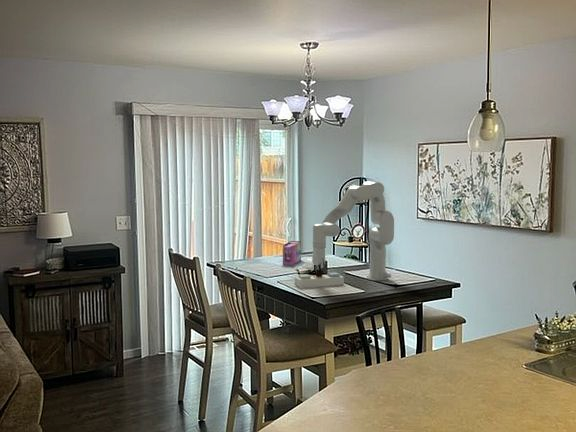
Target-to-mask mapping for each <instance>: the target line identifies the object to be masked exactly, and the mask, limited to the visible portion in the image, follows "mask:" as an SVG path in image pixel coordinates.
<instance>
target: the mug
mask: <svg viewBox="0 0 576 432" xmlns="http://www.w3.org/2000/svg"><path fill="white" fill-rule="evenodd" d="M314 265H315V264H313V263H312V258H307V259H306V260H305V262H304V264H302V265H301V268H302V269H305V270H306V269H308V270H311V271H310V272H312V271H313V270H314ZM308 270H307V271H308Z"/></svg>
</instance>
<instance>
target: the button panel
mask: <svg viewBox="0 0 576 432" xmlns="http://www.w3.org/2000/svg"><path fill="white" fill-rule="evenodd" d="M322 275H323V276H324V277H325V278H315V277H313V276H314V275H310V276H311V279H300V278H299V276H295V277H294V286H295V287H298V288H299V289H302V288H303V289H305V288H316V287H328V286H331V287H332V286H341V285H344V284H345V278H344V276H342V275H340V277H329V276H328V274H322Z"/></svg>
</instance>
